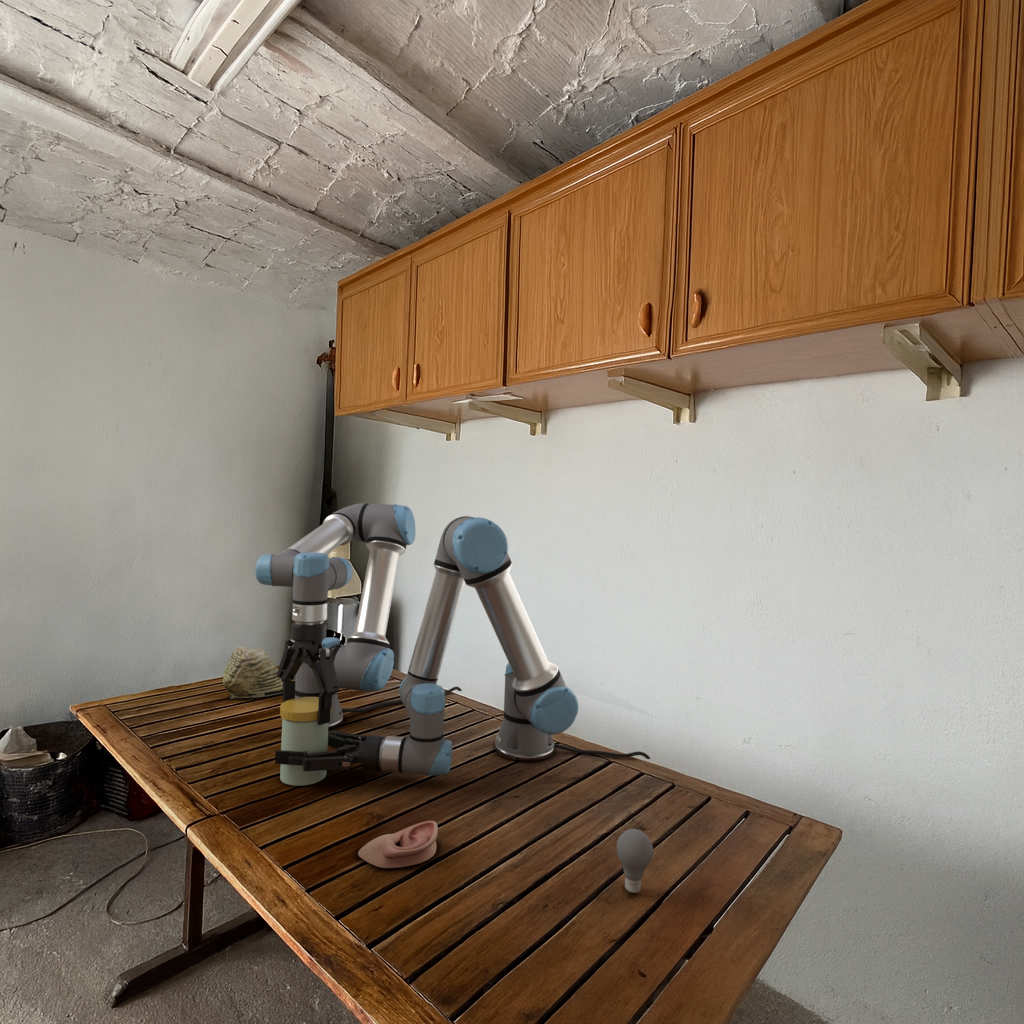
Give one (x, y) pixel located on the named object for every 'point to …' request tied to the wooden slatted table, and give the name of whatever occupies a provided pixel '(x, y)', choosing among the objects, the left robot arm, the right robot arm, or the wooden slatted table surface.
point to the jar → (303, 749)
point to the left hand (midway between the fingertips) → (305, 716)
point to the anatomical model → (402, 846)
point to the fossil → (251, 674)
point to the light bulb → (634, 857)
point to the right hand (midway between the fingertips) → (286, 747)
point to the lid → (300, 709)
